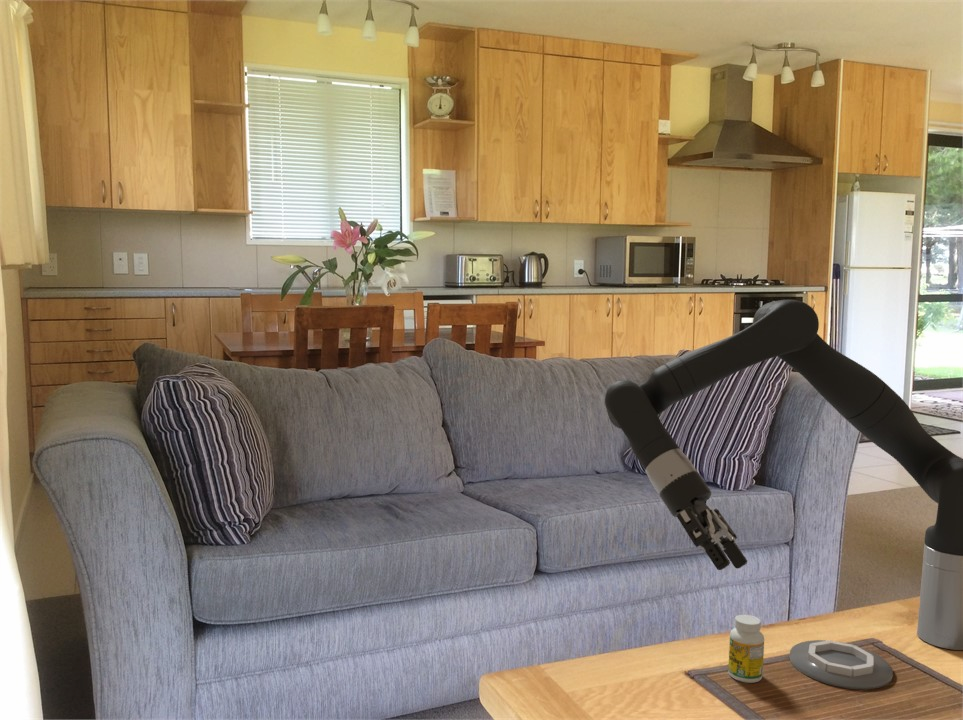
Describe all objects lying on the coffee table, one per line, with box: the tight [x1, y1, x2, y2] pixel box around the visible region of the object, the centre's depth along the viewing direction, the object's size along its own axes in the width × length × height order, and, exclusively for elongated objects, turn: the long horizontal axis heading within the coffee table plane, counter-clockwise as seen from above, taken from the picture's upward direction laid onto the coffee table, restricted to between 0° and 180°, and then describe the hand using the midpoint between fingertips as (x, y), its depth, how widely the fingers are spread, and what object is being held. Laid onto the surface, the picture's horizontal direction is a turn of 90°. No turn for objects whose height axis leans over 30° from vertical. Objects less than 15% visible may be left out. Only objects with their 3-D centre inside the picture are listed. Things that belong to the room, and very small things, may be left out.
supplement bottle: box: [727, 614, 765, 684], centre depth 138 cm, size 5×5×10 cm
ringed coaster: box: [789, 639, 894, 690], centre depth 142 cm, size 16×16×2 cm
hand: (733, 566), depth 135 cm, fingers open, 8 cm apart
